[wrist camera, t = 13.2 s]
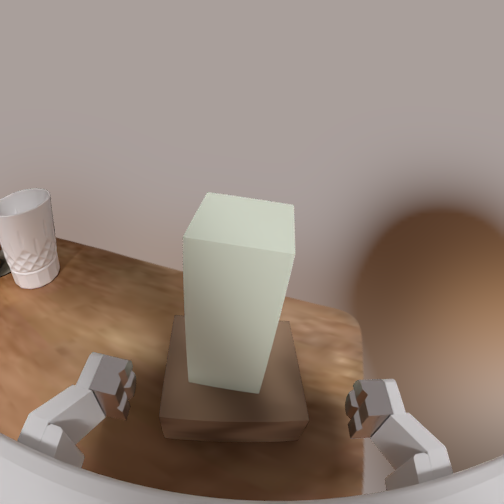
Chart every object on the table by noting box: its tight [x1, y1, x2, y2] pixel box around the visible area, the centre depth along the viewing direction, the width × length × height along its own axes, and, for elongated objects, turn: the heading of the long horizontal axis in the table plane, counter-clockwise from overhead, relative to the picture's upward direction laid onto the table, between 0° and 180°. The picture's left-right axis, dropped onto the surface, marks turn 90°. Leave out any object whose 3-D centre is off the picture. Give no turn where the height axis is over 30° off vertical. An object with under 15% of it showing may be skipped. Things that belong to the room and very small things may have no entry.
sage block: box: [183, 192, 295, 394], centre depth 19 cm, size 5×5×12 cm
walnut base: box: [159, 315, 309, 442], centre depth 24 cm, size 10×10×4 cm
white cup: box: [0, 188, 60, 289], centre depth 30 cm, size 8×8×10 cm
